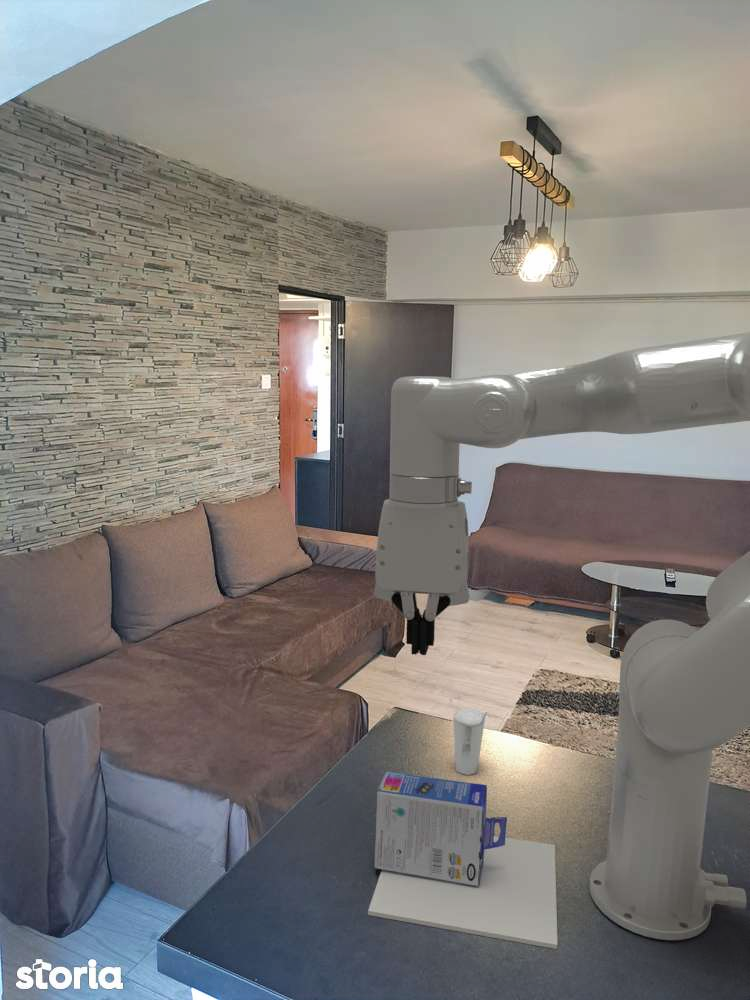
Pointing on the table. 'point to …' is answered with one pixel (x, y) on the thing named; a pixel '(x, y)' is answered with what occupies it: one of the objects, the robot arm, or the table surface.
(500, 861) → the mat
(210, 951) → the table surface
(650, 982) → the table surface
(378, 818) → the ink cartridge box
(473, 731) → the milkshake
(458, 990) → the table surface
